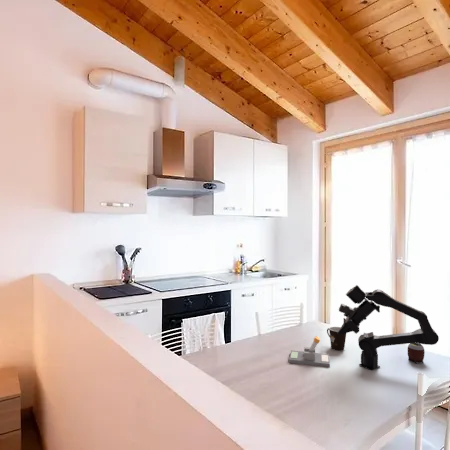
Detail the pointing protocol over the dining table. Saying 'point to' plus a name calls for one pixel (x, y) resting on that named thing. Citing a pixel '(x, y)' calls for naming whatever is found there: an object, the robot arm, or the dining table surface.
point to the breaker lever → (314, 344)
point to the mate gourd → (416, 352)
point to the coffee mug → (336, 339)
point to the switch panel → (310, 362)
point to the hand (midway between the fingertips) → (337, 334)
